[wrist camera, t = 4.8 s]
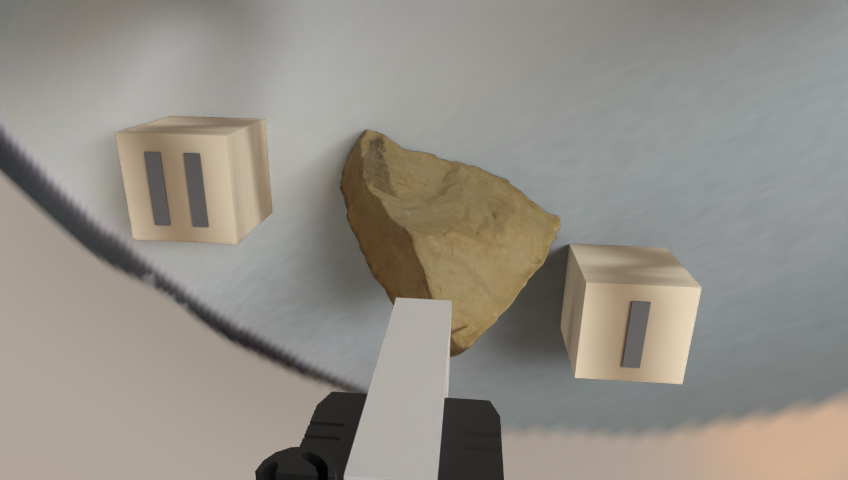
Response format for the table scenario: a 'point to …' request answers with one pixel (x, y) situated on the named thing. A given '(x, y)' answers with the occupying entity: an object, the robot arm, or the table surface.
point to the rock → (443, 232)
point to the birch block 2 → (628, 313)
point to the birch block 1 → (195, 178)
